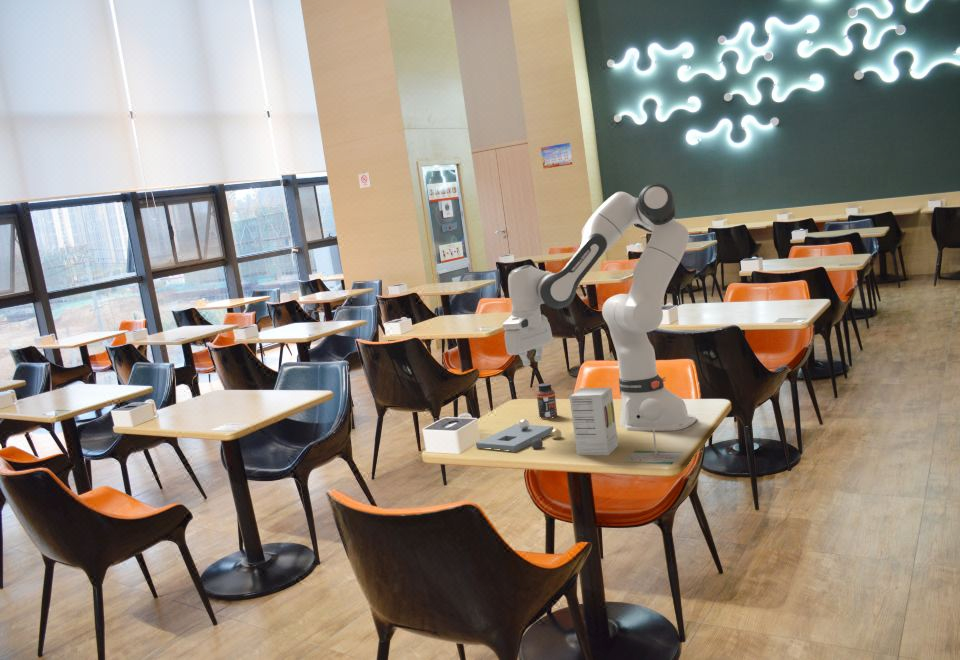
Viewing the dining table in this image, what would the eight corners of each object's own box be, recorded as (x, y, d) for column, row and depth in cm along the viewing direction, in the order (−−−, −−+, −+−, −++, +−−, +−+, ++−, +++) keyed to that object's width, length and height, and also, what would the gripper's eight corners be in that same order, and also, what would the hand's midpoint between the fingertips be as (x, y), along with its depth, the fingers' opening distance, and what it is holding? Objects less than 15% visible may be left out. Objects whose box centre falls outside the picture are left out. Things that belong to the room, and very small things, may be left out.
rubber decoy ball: (545, 448, 227) (544, 437, 227) (539, 451, 224) (537, 440, 224) (536, 447, 229) (534, 436, 229) (530, 451, 227) (528, 440, 226)
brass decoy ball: (564, 438, 235) (563, 427, 234) (558, 441, 232) (557, 430, 232) (555, 437, 237) (554, 427, 236) (549, 440, 234) (548, 430, 234)
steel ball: (532, 428, 241) (530, 418, 240) (525, 431, 238) (524, 421, 238) (523, 428, 243) (522, 417, 242) (517, 431, 240) (515, 420, 240)
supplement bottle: (552, 420, 257) (548, 386, 256) (536, 420, 260) (532, 386, 259) (560, 415, 262) (556, 382, 261) (544, 415, 265) (540, 382, 264)
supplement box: (609, 456, 211) (601, 395, 209) (576, 456, 215) (568, 396, 213) (619, 445, 220) (612, 386, 218) (587, 445, 224) (580, 387, 222)
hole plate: (516, 431, 249) (515, 424, 249) (554, 434, 240) (553, 426, 240) (477, 451, 234) (475, 442, 234) (515, 454, 225) (514, 446, 225)
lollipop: (640, 457, 207) (634, 401, 205) (649, 450, 212) (643, 395, 210) (663, 458, 203) (657, 401, 202) (671, 451, 208) (665, 395, 206)
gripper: (537, 313, 253) (543, 356, 255) (499, 325, 237) (505, 370, 239) (554, 313, 249) (559, 356, 251) (516, 324, 233) (522, 370, 235)
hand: (532, 363), depth 245 cm, fingers open, 5 cm apart
